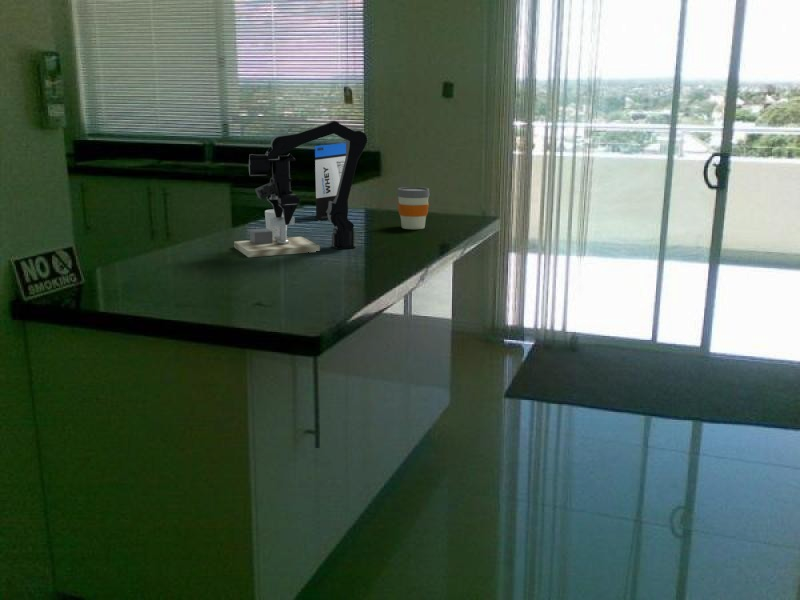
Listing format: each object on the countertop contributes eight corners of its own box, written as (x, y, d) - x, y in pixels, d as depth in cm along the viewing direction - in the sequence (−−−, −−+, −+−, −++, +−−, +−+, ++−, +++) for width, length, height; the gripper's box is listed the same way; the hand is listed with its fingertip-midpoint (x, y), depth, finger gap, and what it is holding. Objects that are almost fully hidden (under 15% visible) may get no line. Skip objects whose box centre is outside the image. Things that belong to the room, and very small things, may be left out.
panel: (302, 242, 278) (301, 236, 278) (319, 251, 263) (319, 245, 262) (234, 247, 268) (233, 241, 268) (248, 257, 253) (248, 251, 252)
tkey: (288, 238, 273) (287, 213, 270) (296, 242, 265) (295, 217, 263) (265, 240, 269) (264, 215, 267) (273, 244, 262) (272, 219, 259)
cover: (267, 240, 271) (267, 228, 270) (272, 243, 265) (272, 231, 264) (250, 241, 268) (249, 229, 267) (254, 244, 263) (254, 232, 262)
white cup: (261, 239, 282) (260, 211, 280) (273, 236, 290) (272, 208, 287) (280, 241, 280) (280, 213, 277) (292, 237, 287) (291, 210, 284)
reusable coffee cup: (435, 226, 313) (435, 188, 309) (418, 231, 302) (419, 191, 299) (407, 223, 319) (408, 186, 315) (390, 227, 309) (391, 189, 305)
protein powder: (356, 214, 342) (356, 143, 334) (326, 222, 321) (325, 146, 313) (337, 212, 346) (336, 142, 339) (306, 220, 325) (304, 145, 318)
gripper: (249, 173, 264) (251, 220, 268) (265, 179, 248) (267, 228, 252) (281, 172, 269) (283, 217, 273) (299, 177, 252) (300, 226, 256)
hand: (282, 222), depth 263 cm, fingers open, 9 cm apart
